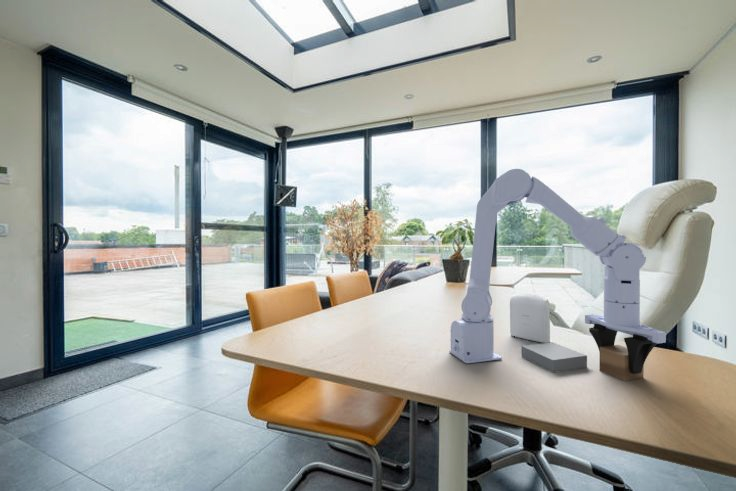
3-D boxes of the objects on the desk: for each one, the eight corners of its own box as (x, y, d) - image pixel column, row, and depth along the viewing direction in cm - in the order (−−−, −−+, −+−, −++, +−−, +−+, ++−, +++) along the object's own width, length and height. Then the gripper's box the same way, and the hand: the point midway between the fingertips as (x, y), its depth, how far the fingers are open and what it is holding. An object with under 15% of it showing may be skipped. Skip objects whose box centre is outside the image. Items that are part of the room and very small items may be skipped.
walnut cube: (624, 380, 61) (624, 355, 61) (599, 370, 66) (599, 347, 66) (643, 377, 62) (643, 352, 62) (617, 367, 67) (617, 344, 67)
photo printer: (507, 336, 90) (507, 293, 90) (514, 333, 93) (514, 291, 92) (546, 345, 82) (546, 298, 82) (552, 341, 85) (552, 295, 84)
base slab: (552, 374, 66) (552, 360, 65) (521, 358, 74) (521, 345, 74) (586, 369, 68) (586, 355, 68) (552, 354, 76) (552, 342, 76)
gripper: (678, 307, 58) (677, 380, 58) (602, 293, 72) (601, 352, 72) (649, 309, 56) (649, 384, 56) (577, 295, 70) (577, 355, 70)
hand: (620, 367), depth 64 cm, fingers closed on walnut cube, 5 cm apart
